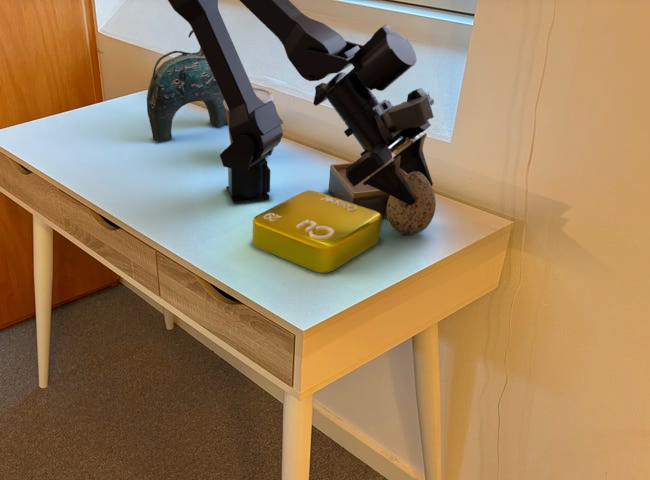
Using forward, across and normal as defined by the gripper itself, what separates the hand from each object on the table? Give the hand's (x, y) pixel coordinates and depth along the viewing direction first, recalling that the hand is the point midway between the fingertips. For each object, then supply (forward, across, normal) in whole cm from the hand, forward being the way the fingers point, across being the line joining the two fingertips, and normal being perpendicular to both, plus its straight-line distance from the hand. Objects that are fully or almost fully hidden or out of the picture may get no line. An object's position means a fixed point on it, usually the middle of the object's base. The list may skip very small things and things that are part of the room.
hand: (422, 195), depth 108 cm
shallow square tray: (-3, +8, +12) cm, 15 cm away
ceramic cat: (-36, +21, +45) cm, 61 cm away
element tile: (-4, -10, +13) cm, 17 cm away
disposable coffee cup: (-23, +15, +33) cm, 43 cm away
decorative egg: (+4, 0, +6) cm, 7 cm away
